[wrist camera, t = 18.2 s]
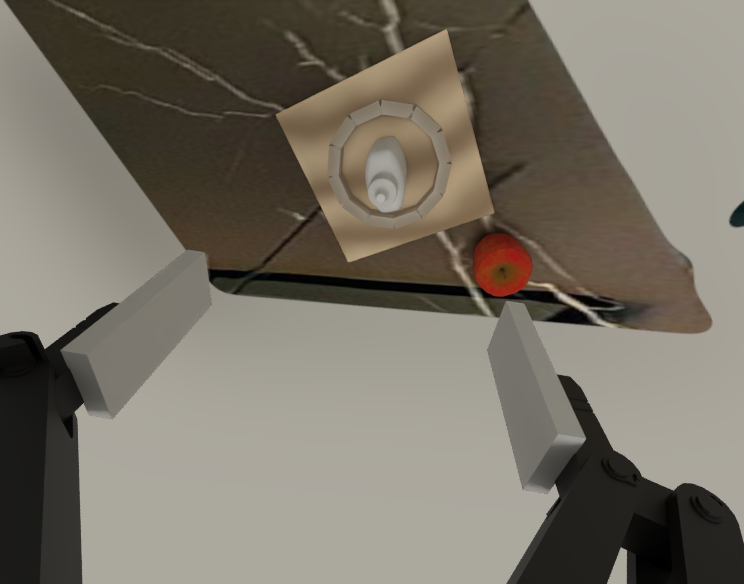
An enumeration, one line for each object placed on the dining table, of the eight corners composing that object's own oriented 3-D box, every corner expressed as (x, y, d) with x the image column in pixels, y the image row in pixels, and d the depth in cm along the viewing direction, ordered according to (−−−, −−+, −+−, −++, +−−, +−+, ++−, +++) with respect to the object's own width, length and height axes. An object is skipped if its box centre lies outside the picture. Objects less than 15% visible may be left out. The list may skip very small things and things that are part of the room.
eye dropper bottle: (363, 183, 40) (345, 222, 30) (378, 130, 37) (364, 153, 27) (400, 195, 40) (395, 238, 30) (418, 144, 37) (419, 172, 27)
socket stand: (281, 112, 39) (268, 116, 35) (445, 30, 34) (448, 26, 30) (350, 255, 47) (345, 269, 44) (491, 207, 42) (497, 219, 38)
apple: (459, 234, 44) (467, 262, 38) (510, 214, 42) (527, 240, 36) (476, 276, 47) (485, 309, 40) (525, 259, 45) (543, 290, 38)
